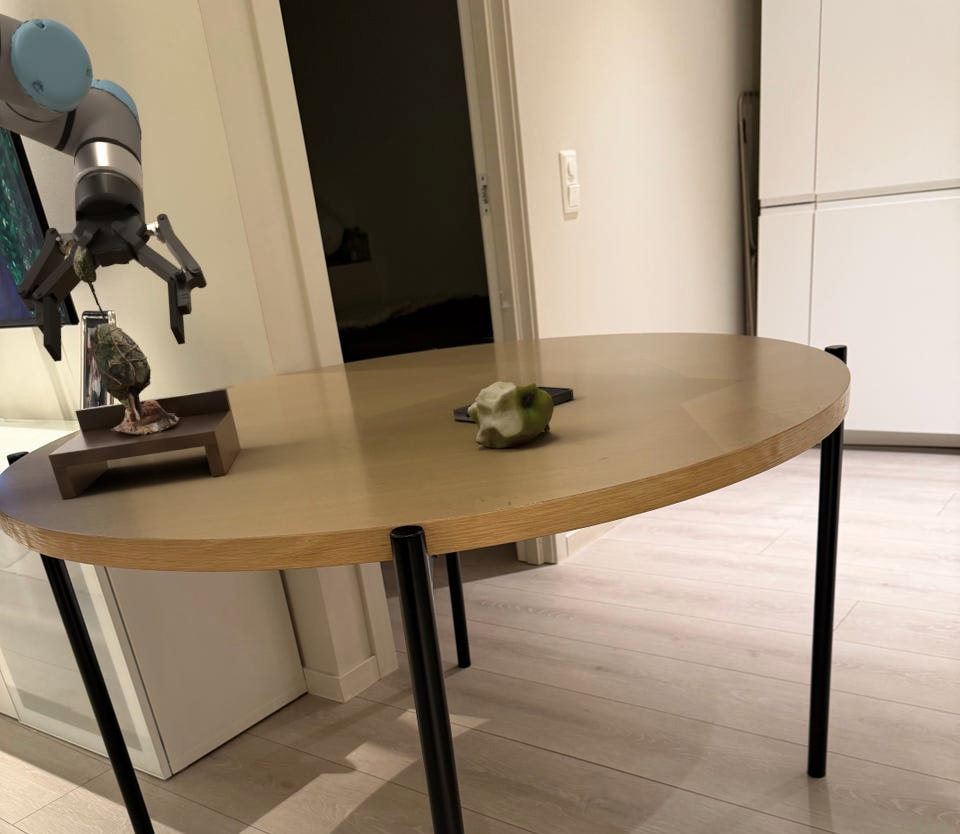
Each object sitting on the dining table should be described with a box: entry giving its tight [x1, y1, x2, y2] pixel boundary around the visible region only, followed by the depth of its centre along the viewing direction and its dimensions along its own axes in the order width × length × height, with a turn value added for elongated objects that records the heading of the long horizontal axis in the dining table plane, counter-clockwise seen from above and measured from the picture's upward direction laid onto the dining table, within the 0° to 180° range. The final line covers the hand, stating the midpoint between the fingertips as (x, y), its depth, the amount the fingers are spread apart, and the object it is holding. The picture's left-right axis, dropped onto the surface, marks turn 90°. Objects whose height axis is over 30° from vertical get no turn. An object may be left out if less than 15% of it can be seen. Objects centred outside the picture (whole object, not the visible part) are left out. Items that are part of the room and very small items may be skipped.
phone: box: [452, 386, 575, 423], centre depth 113 cm, size 8×1×15 cm
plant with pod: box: [73, 246, 180, 435], centre depth 99 cm, size 8×11×20 cm
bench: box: [48, 387, 241, 500], centre depth 104 cm, size 18×14×8 cm
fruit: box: [468, 380, 555, 449], centre depth 96 cm, size 9×9×8 cm
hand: (115, 344), depth 97 cm, fingers open, 13 cm apart
